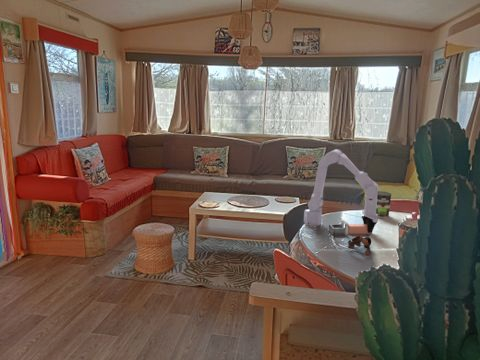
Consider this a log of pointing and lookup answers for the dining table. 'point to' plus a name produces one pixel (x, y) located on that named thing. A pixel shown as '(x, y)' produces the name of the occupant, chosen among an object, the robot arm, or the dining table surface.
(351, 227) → the copper rectangular block
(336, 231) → the dispenser
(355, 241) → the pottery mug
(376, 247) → the dining table surface
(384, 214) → the coffee can
